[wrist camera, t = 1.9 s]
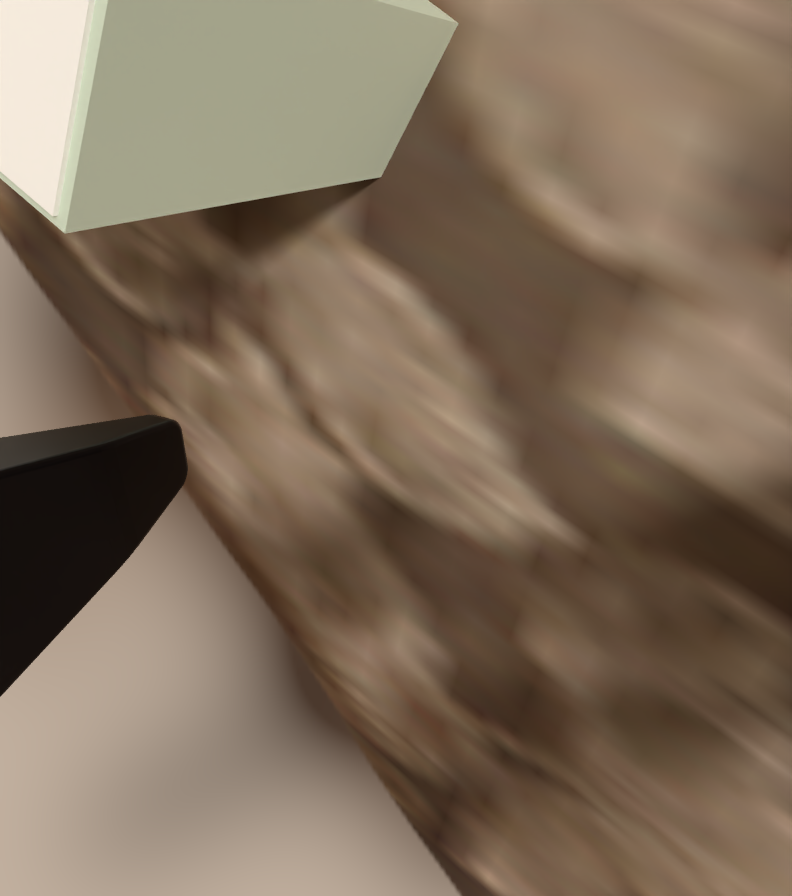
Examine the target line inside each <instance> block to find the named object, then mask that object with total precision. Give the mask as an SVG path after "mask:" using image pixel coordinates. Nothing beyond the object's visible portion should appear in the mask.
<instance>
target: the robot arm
mask: <svg viewBox="0 0 792 896" xmlns="http://www.w3.org/2000/svg"><path fill="white" fill-rule="evenodd" d="M187 471H188V465H187V459H186V453H185V447H184V441H183V435H182V430H181V427H180V425H179V424H178V422H176V421H175V420H172V419H169V418H165V417H161V416H157V415H144V416H137V417H131V418H125V419H118V420H112V421H106V422H99V423H92V424H86V425H81V426H73V427H67V428H60V429H54V430H47V431H41V432H35V433H28V434H22V435H16V436H9V437H2V438H0V696H1V695H2V694H3V693H4V692H5V691H6V690H7V689H8V688H9V687H10V686H11V685H12V684H13V683H14V681H15V680H16V679H17V678H18V677H19V676H20V675H21V674H22V673H23V672H24V671H25V670H26V669H27V667H28V666H29V665H30V664H31V663H32V662H33V661H34V660H35V659H36V658H37V657H38V656H39V655H40V653H41V652H42V651H43V650H44V649H45V648H46V647H47V646H48V645H49V644H50V643H51V641H52V640H53V639H54V638H55V637H56V636H57V635H58V634H59V633H60V632H61V631H62V630H63V629H64V628H65V627H66V625H67V624H68V623H69V622H70V621H71V620H72V619H73V618H74V617H75V616H76V615H77V614H78V613H79V611H80V610H81V609H82V608H83V607H84V606H85V605H86V604H87V603H88V602H89V601H90V600H91V598H92V597H93V596H94V595H95V594H96V593H97V592H98V591H99V590H100V589H101V588H102V587H103V585H104V584H105V583H106V582H107V581H108V580H109V579H110V578H111V577H112V576H113V575H114V574H115V573H116V572H117V570H118V569H119V568H120V567H121V566H122V565H123V563H125V561H126V560H127V559H128V558H129V557H130V555H131V554H132V553H133V552H134V550H135V549H136V548H137V547H138V545H139V544H140V543H141V541H142V540H143V539H144V537H145V536H146V535H147V533H148V532H149V531H150V529H151V528H152V526H153V525H154V524H155V523H156V521H157V520H158V518H159V517H160V516H161V514H162V513H163V512H164V510H165V509H166V508H167V506H168V505H169V503H170V502H171V501H172V500H173V498H174V497H175V496H176V494H177V493H178V491H179V490H180V488H181V487H182V486H183V484H184V482H185V480H186V476H187Z"/></svg>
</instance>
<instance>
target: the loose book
mask: <svg viewBox="0 0 792 896" xmlns="http://www.w3.org/2000/svg"><path fill="white" fill-rule="evenodd" d="M457 25H458V23H457V22H456V21H455V20H453V19H452V18H451V17H449V16H448V15H447V14H445V13H444V12H443V11H441V10H440V9H439V8H437V7H436V6H435V5H433V4H432V3H431V2H429V1H428V0H0V178H1V179H2V180H3V181H4V182H5V183H7V184H8V185H9V186H10V187H11V188H12V189H14V190H15V191H16V192H17V193H18V194H19V195H21V196H22V197H23V198H24V199H25V200H26V201H28V202H29V203H30V204H31V205H32V206H33V207H35V208H36V209H37V210H38V211H39V212H40V213H42V214H43V215H44V216H45V217H46V218H47V219H49V220H50V221H51V222H52V223H53V224H54V225H55V226H57V227H58V228H59V229H60V230H61V231H62V232H64V233H71V232H76V231H82V230H88V229H93V228H99V227H104V226H110V225H116V224H121V223H127V222H133V221H138V220H144V219H149V218H155V217H161V216H166V215H172V214H177V213H183V212H189V211H194V210H200V209H205V208H211V207H217V206H222V205H228V204H233V203H239V202H245V201H250V200H256V199H261V198H267V197H273V196H278V195H284V194H289V193H295V192H301V191H306V190H312V189H317V188H323V187H329V186H334V185H340V184H346V183H351V182H357V181H362V180H368V179H374V178H379V177H381V176H382V174H383V172H384V170H385V168H386V166H387V164H388V162H389V160H390V158H391V156H392V154H393V152H394V150H395V148H396V146H397V144H398V142H399V140H400V138H401V136H402V135H403V133H404V131H405V129H406V127H407V125H408V123H409V121H410V119H411V117H412V115H413V113H414V111H415V109H416V107H417V105H418V103H419V101H420V99H421V97H422V95H423V93H424V91H425V89H426V87H427V85H428V83H429V81H430V79H431V77H432V75H433V73H434V71H435V69H436V67H437V65H438V63H439V61H440V59H441V57H442V55H443V53H444V51H445V49H446V47H447V45H448V43H449V41H450V39H451V37H452V35H453V33H454V31H455V29H456V27H457Z"/></svg>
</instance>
